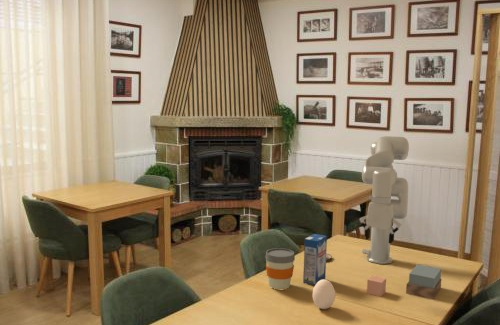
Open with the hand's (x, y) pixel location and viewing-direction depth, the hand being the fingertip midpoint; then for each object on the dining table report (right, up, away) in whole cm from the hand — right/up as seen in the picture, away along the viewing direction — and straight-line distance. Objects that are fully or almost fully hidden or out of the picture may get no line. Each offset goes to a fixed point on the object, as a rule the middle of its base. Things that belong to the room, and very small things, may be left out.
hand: (379, 240), depth 202 cm
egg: (-25, -24, -13) cm, 37 cm away
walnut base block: (+21, -23, +6) cm, 31 cm away
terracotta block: (0, -22, +3) cm, 23 cm away
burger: (-18, -17, +46) cm, 52 cm away
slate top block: (+21, -18, +6) cm, 28 cm away
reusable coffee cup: (-41, -21, +8) cm, 47 cm away
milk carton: (-25, -21, +15) cm, 35 cm away
